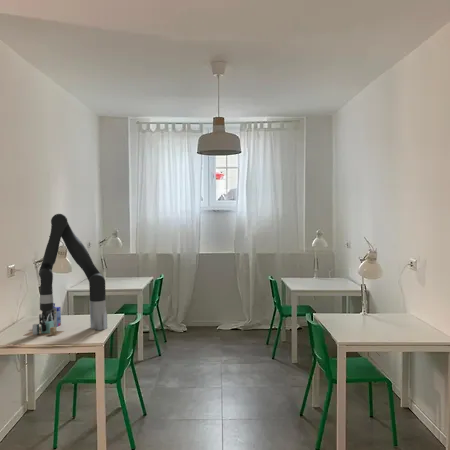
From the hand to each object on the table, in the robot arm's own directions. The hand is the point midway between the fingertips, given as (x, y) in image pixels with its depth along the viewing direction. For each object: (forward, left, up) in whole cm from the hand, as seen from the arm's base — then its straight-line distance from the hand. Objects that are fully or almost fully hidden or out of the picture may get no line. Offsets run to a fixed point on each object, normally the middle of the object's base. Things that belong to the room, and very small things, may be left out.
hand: (47, 329), depth 300 cm
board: (+1, +2, -2) cm, 4 cm away
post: (+4, +6, -2) cm, 7 cm away
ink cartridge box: (+5, -16, -3) cm, 17 cm away
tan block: (-6, +5, -2) cm, 8 cm away
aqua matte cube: (0, 0, -2) cm, 2 cm away
